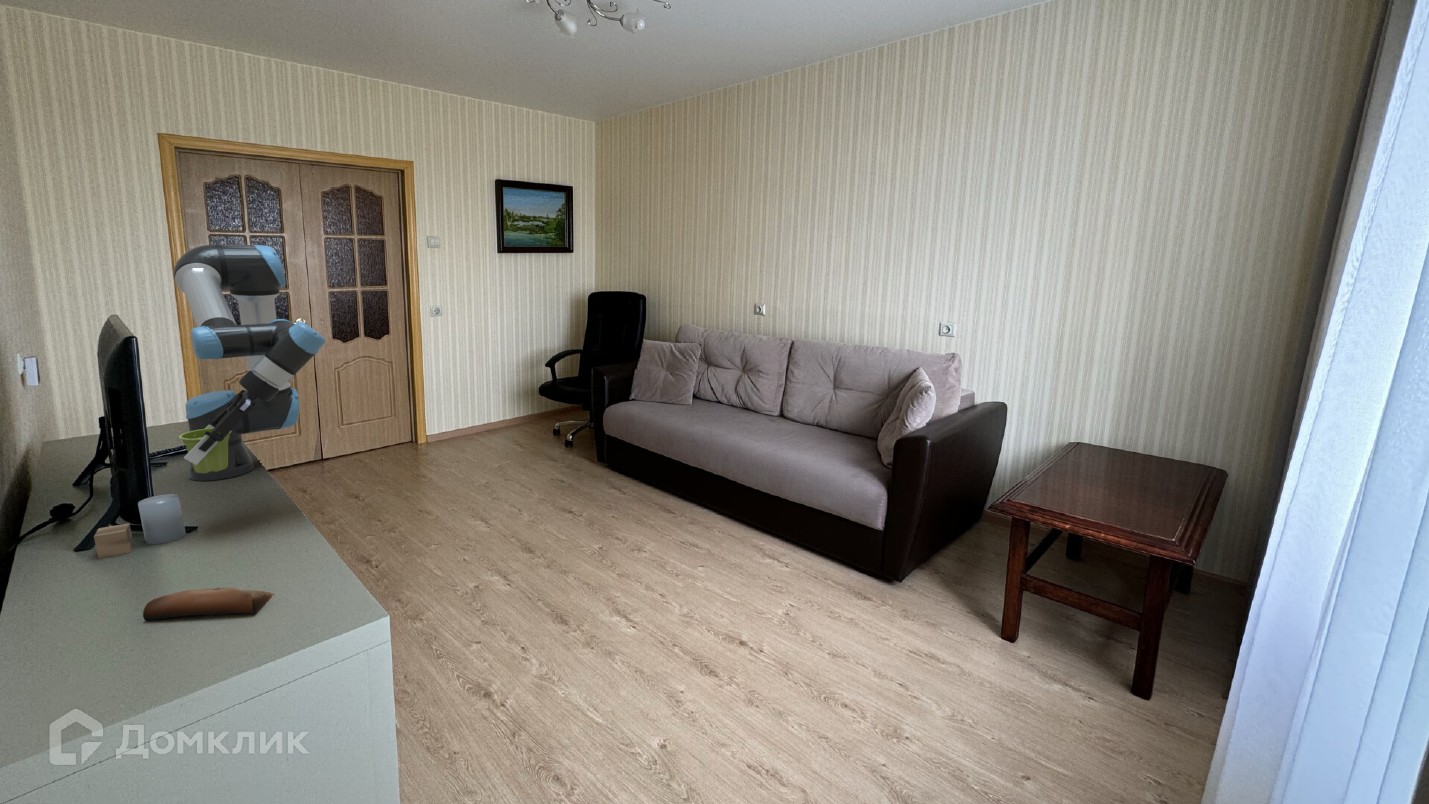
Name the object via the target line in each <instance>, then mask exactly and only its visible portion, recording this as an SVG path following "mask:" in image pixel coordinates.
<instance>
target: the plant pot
mask: <svg viewBox="0 0 1429 804" xmlns="http://www.w3.org/2000/svg"><path fill="white" fill-rule="evenodd" d="M212 430H213V428H207V429H200V430H194V431H190V432H189V431H187V432H184V433H182V434H180V435H179V439H180V440H181V441H182V443H183V445H184V446H185V448H186V450H187V454H188V453H189V452H190V451H191V450H192V449H193V448H194V447H195V446H196V445H197V444H198V443H199V442H200V441H201V440H202V439H203V438H204V437H205V435H206V434H204V433H205V432H206V431H208V432H211V431H212ZM217 433H218V432H217ZM230 433H231V431H230V432H229V433H228V434H227V435H226V436H225V438H224V439H223V440H222V441H219V442H218V443H217V444H216V445H215V446H214V447H213V448H212V449H211V450H210V451H209V453H208V454H207V455H206V456H205V457H204V458H203V459H202V460H201V461H200V462H199V463H198V464H197V465H195V464H193V463H192V465H193V468H194V470H195V472H197V473H208V472H210V471H215V472H216V471H221V470H223V469H226V468H227V467H228V439H229V435H230ZM218 434H220V433H218ZM220 435H221V434H220Z"/></svg>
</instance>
